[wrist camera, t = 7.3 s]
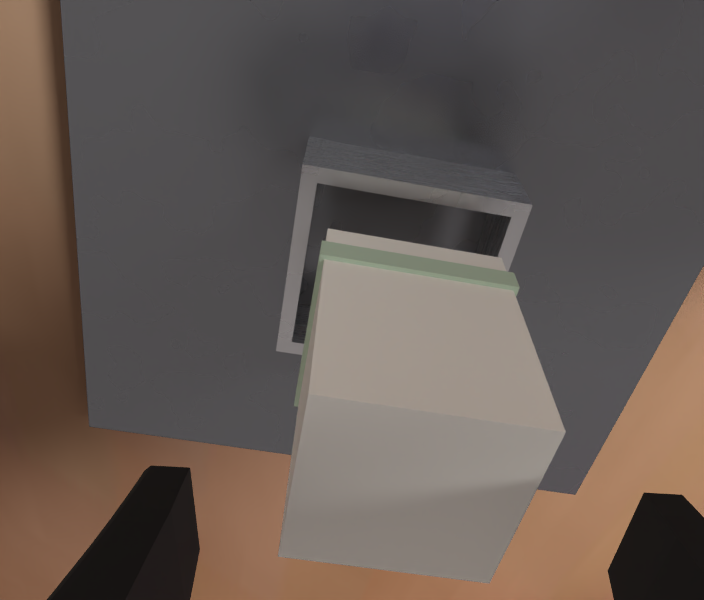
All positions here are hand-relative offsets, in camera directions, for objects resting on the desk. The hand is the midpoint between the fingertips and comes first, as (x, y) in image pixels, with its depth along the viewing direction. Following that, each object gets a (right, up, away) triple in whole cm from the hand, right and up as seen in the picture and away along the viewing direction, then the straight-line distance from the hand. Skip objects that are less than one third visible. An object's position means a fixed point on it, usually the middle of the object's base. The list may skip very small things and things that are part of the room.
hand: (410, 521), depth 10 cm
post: (0, +4, +6) cm, 7 cm away
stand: (0, +6, +9) cm, 10 cm away
